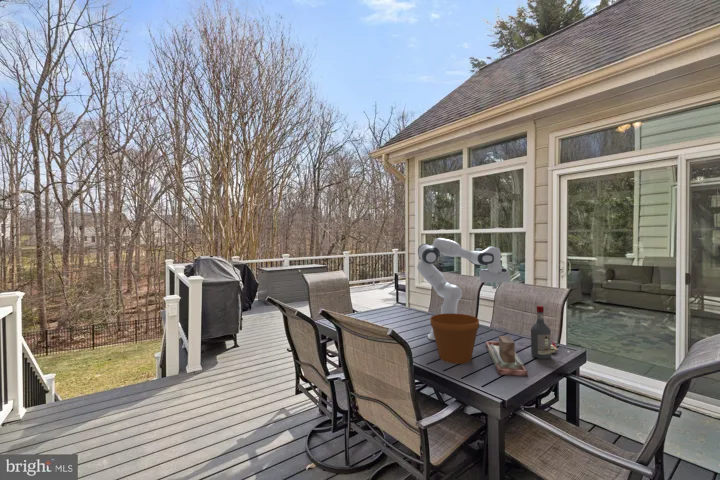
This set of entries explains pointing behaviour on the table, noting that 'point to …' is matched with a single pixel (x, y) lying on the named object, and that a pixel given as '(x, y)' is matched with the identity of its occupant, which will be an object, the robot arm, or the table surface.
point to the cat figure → (553, 347)
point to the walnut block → (507, 349)
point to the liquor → (540, 337)
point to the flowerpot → (455, 336)
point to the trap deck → (505, 367)
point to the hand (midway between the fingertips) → (494, 288)
